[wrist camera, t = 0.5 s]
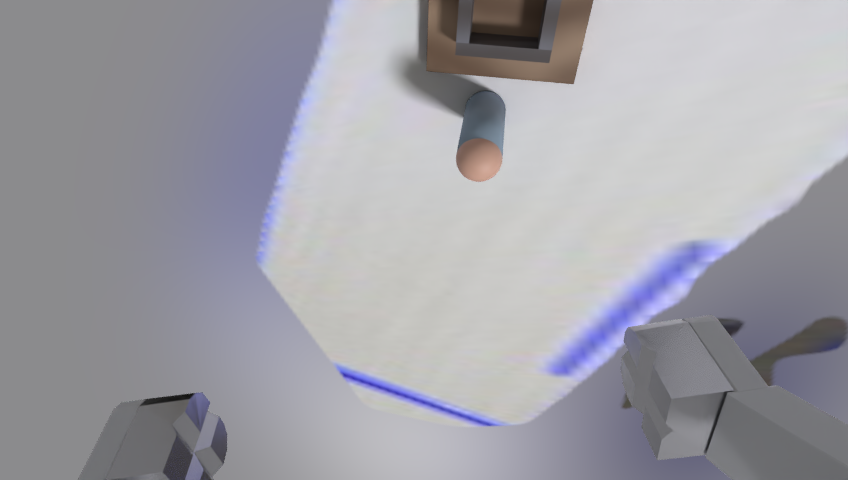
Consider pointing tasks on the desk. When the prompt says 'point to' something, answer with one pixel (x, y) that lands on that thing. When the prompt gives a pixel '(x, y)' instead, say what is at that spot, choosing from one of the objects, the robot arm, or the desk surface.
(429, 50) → the jig
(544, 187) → the desk surface
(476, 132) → the peach-tipped grey cylinder
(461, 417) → the desk surface
